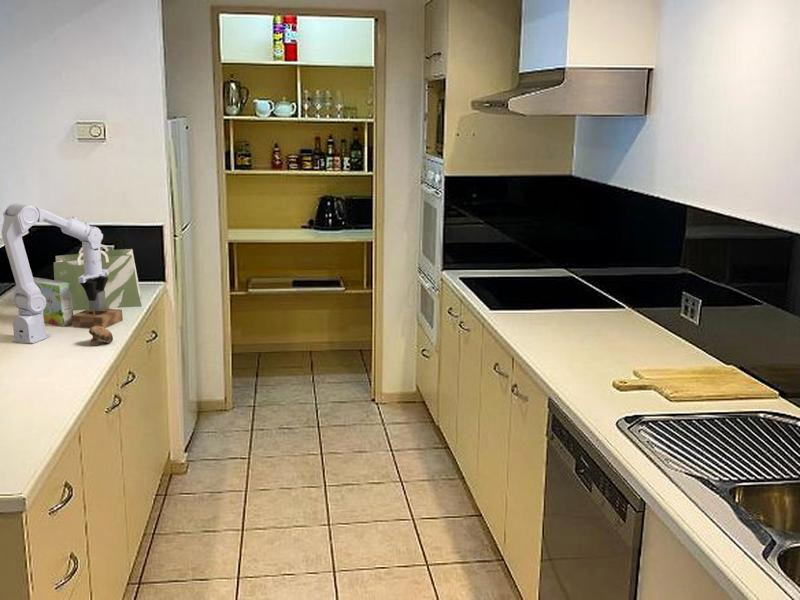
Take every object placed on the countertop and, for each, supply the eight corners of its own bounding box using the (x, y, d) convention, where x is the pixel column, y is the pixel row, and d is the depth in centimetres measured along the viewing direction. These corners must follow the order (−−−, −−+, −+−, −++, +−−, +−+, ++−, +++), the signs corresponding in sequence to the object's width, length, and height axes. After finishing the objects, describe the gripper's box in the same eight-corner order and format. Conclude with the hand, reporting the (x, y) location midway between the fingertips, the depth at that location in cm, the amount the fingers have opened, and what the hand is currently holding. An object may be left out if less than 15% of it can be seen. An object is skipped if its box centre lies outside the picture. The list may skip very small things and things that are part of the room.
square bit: (99, 311, 286) (98, 292, 285) (89, 310, 287) (88, 291, 286) (106, 308, 290) (105, 290, 288) (96, 307, 291) (95, 289, 289)
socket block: (102, 329, 283) (101, 318, 282) (72, 326, 286) (71, 315, 285) (122, 320, 294) (121, 309, 293) (93, 318, 297) (92, 307, 296)
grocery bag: (51, 312, 305) (45, 250, 300) (56, 303, 318) (50, 244, 313) (142, 307, 314) (137, 246, 308) (142, 298, 327) (138, 241, 321)
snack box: (21, 319, 295) (16, 278, 291) (34, 316, 300) (30, 275, 296) (62, 327, 285) (58, 284, 282) (75, 323, 290) (71, 281, 286)
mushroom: (81, 338, 260) (91, 321, 262) (84, 341, 268) (94, 324, 270) (105, 349, 262) (115, 332, 263) (107, 352, 269) (117, 335, 271)
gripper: (89, 265, 277) (93, 304, 280) (114, 257, 291) (117, 295, 294) (71, 264, 279) (75, 303, 282) (97, 256, 292) (100, 293, 295)
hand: (95, 299), depth 288 cm, fingers closed on square bit, 4 cm apart
